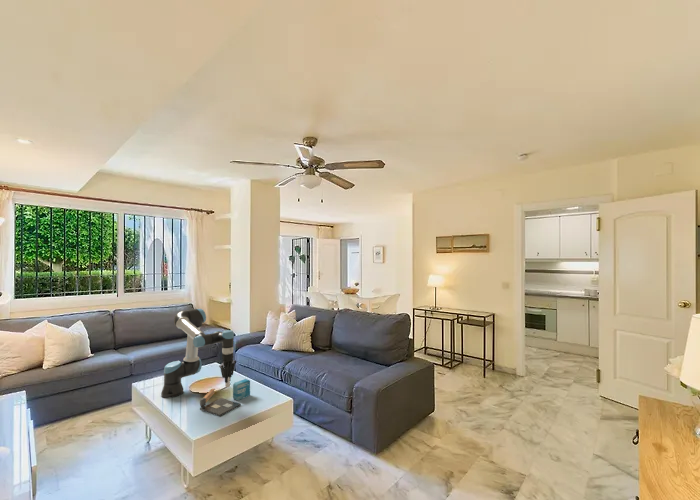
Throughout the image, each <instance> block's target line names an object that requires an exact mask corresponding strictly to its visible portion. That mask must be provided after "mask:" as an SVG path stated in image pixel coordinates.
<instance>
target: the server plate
mask: <svg viewBox="0 0 700 500" xmlns="http://www.w3.org/2000/svg"><path fill="white" fill-rule="evenodd" d="M241 406H242V404H241V403H239V402H235V401H233V400H230V399H225V398H223V397H221V398H219V399H217V400H214V401H212V402H210V403H208V404H206V405H204V406H200V408H199V410H200V411H201V412H202V411H203V412H206V413H208V414H210V415H211V414H212V415H214V416H217V417H221V416H224V415H225V414H227V413H230V412H231V411H233V410H235V409H236V408H239V407H241Z"/></svg>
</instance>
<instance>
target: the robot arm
mask: <svg viewBox="0 0 700 500" xmlns="http://www.w3.org/2000/svg"><path fill="white" fill-rule="evenodd" d="M206 320H207V315H206V312H205V310H204V309H203V308H193V309H187V310H185V309H184V310H180V311H178V313H176V314H175V316H174V318H173V323H174V324H173V325H174V326H175V327H176V328H177V329H178V330H182V331H183V332H184V333H185V334H187V337H186V338H187V339H186V349H185V357H183V359H182V361H180V360H176V361H175V360H174V361H172V362H171V361H170V362H169V363H167V364H166V365H164V369H163V387H162V390H161V393H160V394H161V395H160V396H161V397H162V398H166V399H167V398H175V397H179V396H180V395H182V394H184V386H183V384H182V378H186V377H190V376H193V375H195V374H199V372H200V371H201V370H202V367H203V366H202V360H201V358H200V357H199V356H198V353H199V348H202V347H207V346H210V345H215V344H221V346H222V347H221V353H222V354H221V359H222V361H221V364H219V365H218V366H219V368H220V374H221V378H222V379H223V378H224V383H225V387H226V388H230V386H231V378H232V376H233V375H234V370H235V365H236V363H237V361H236V360H234V342H235V341H234V340H235V339H234V338H235V337H234V336H235V335H234V331H233V330H231V329H227V330H223V331H222V330H216V331H214V332H212V333H206V334H205V332H203V331H201V328H202V327H203V324H205V322H206Z"/></svg>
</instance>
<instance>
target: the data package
mask: <svg viewBox="0 0 700 500" xmlns="http://www.w3.org/2000/svg"><path fill="white" fill-rule="evenodd" d="M250 395H251V380H249V379H246V378H243V379H242V380H239V381H236V382H235V381H234V383H233V384H232V399H234V400H235V401H240V400H242V399H245V398H247V397H249V396H250Z"/></svg>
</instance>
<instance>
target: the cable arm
mask: <svg viewBox="0 0 700 500" xmlns="http://www.w3.org/2000/svg"><path fill="white" fill-rule="evenodd" d="M214 390H215V392H214ZM215 393H216V389H215V388H211V389H210V390H209V391H208V392H207V393H206V394H205V395H204V396H203V397H202V398H201V397H200V399H199V400H200V401H199V405H200V407H201V406H204V405H207V402H208V401H209V400H210V399H211V398H212V396H213V395H214V394H215Z"/></svg>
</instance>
